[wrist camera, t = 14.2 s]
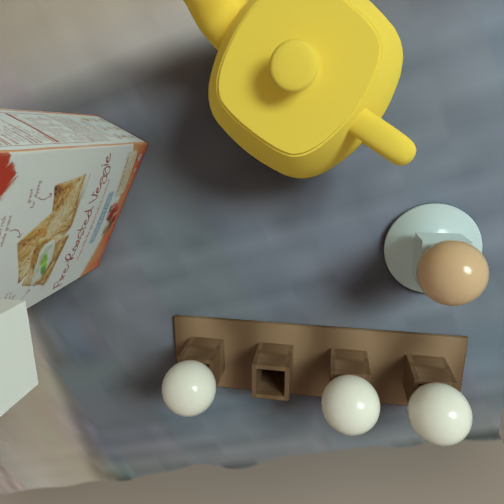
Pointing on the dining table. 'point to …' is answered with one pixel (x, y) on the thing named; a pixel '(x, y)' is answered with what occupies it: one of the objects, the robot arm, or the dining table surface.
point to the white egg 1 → (188, 388)
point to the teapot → (303, 80)
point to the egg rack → (318, 356)
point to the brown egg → (452, 272)
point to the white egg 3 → (439, 414)
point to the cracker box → (59, 197)
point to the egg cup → (424, 237)
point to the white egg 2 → (350, 404)
